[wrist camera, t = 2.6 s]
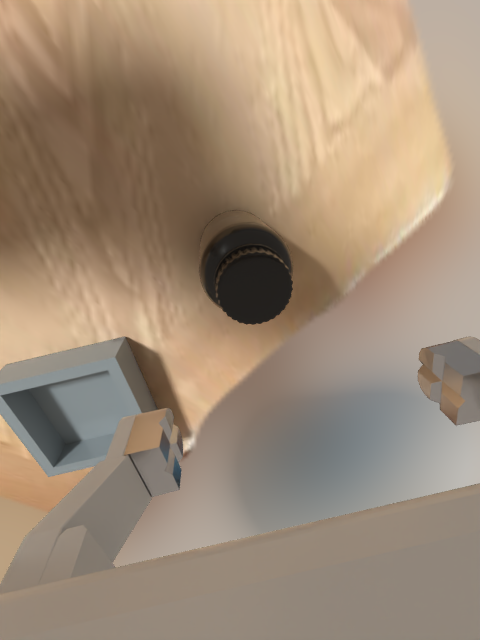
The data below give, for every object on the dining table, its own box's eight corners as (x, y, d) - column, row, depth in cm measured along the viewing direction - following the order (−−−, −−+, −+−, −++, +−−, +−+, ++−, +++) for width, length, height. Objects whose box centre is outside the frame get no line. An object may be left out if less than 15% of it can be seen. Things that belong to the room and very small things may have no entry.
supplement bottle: (199, 279, 30) (195, 338, 19) (200, 206, 27) (196, 228, 16) (267, 282, 31) (299, 339, 20) (275, 211, 28) (318, 234, 17)
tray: (6, 364, 32) (-20, 388, 28) (125, 336, 32) (114, 357, 28) (63, 448, 38) (48, 476, 34) (164, 424, 38) (160, 450, 34)
